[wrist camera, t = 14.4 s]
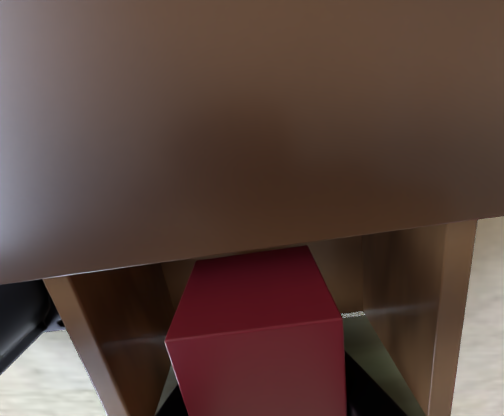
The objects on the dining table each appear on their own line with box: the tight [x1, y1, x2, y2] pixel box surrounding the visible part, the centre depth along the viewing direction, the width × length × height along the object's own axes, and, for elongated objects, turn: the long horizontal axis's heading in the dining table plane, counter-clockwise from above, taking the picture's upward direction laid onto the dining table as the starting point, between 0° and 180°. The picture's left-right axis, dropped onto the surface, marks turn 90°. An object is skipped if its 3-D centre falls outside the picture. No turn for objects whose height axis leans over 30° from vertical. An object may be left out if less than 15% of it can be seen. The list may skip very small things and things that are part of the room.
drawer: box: [43, 219, 478, 416], centre depth 12 cm, size 17×13×7 cm
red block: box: [164, 245, 347, 416], centre depth 8 cm, size 6×4×3 cm, turn 9°
